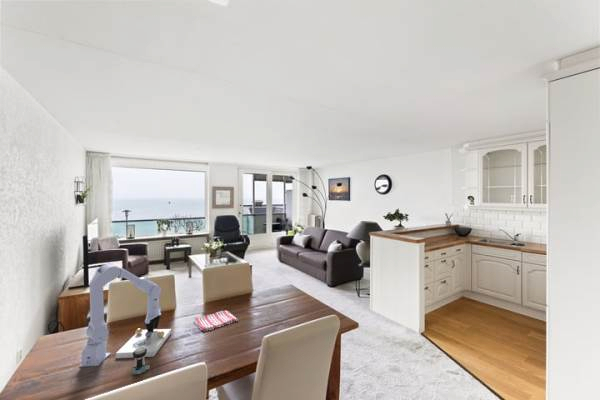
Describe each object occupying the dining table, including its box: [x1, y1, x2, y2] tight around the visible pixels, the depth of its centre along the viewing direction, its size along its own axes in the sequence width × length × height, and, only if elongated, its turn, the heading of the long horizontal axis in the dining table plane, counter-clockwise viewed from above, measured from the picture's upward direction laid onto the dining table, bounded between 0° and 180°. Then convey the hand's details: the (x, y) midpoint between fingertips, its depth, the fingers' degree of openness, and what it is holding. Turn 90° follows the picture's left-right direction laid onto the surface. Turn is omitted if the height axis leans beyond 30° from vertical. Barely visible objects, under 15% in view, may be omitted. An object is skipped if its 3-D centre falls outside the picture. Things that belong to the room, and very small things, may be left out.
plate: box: [115, 328, 172, 359], centre depth 132 cm, size 22×17×2 cm
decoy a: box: [134, 327, 143, 335], centre depth 137 cm, size 3×3×3 cm
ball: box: [145, 331, 152, 338], centre depth 135 cm, size 3×3×3 cm
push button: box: [132, 347, 150, 376], centre depth 111 cm, size 7×5×10 cm
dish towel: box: [193, 310, 239, 332], centre depth 160 cm, size 17×23×4 cm
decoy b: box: [157, 331, 164, 338], centre depth 135 cm, size 3×3×3 cm
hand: (152, 330), depth 139 cm, fingers open, 5 cm apart
